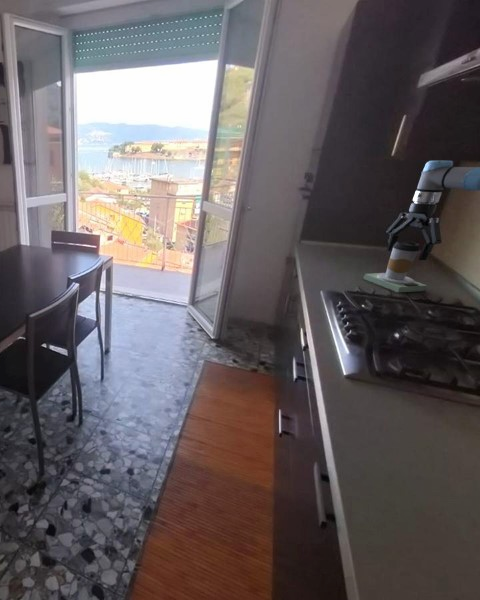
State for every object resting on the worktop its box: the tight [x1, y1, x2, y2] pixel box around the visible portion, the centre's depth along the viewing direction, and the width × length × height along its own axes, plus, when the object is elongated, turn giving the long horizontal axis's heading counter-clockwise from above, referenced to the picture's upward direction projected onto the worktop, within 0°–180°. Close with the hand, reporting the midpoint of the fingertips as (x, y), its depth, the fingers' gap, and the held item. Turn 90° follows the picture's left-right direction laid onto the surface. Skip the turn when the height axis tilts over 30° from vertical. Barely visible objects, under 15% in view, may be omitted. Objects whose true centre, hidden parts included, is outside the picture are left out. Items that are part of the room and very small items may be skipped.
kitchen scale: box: [363, 272, 428, 294], centre depth 152 cm, size 16×13×3 cm
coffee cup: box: [385, 240, 420, 280], centre depth 149 cm, size 8×8×15 cm
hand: (405, 255), depth 147 cm, fingers open, 13 cm apart
